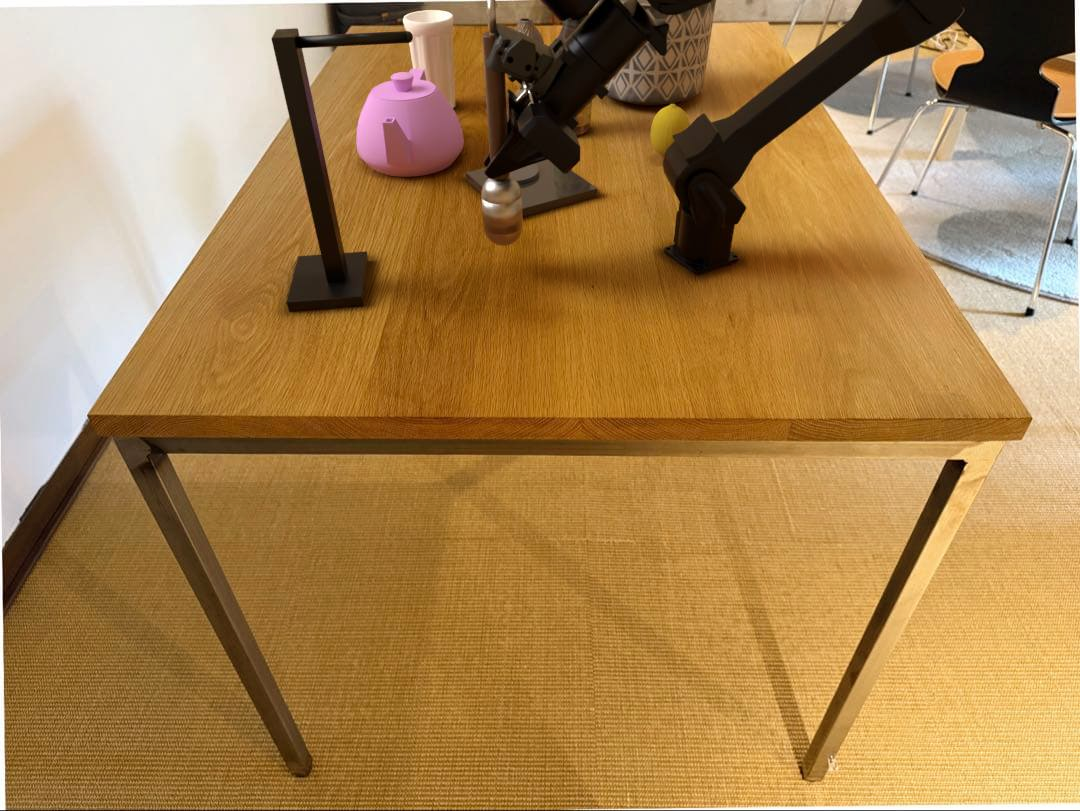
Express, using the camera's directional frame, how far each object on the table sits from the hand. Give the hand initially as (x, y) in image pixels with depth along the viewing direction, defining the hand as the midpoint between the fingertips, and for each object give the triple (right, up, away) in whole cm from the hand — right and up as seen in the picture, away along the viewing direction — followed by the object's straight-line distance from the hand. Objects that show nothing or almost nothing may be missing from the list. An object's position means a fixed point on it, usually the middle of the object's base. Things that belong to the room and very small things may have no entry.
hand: (487, 171), depth 80 cm
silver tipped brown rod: (+2, -6, +6) cm, 9 cm away
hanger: (-14, -11, +6) cm, 19 cm away
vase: (+3, +39, +64) cm, 75 cm away
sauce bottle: (+11, +19, +40) cm, 46 cm away
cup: (-12, +26, +49) cm, 57 cm away
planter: (+25, +29, +52) cm, 65 cm away
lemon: (+24, +11, +31) cm, 41 cm away
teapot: (-13, +12, +33) cm, 37 cm away
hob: (+4, +5, +24) cm, 25 cm away
